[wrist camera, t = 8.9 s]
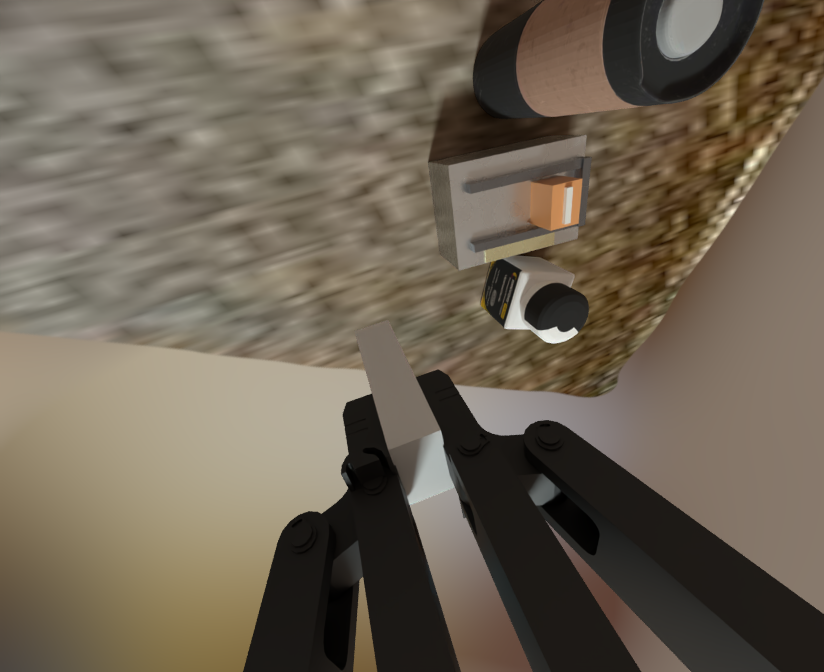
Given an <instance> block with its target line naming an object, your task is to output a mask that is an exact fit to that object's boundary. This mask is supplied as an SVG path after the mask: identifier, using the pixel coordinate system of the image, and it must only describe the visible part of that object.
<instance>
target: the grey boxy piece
mask: <svg viewBox="0 0 824 672" xmlns="http://www.w3.org/2000/svg"><path fill="white" fill-rule="evenodd" d="M586 136H587V135H562V136H546V137H541V138H536V139H532V140H527V141H523V142H518V143H514V144H509V145H504V146H500V147H495V148H491V149H486V150H482V151H477V152H472V153H468V154H463V155H459V156H454V157H450V158H445V159H440V160H436V161H431V162H428V165H429V173H430V181H431V189H432V196H433V204H434V212H435V220H436V227H437V235H438V243H439V251H440V255H441V256H442V257H443V258H445V259H446V260H447V261H448V262H449V263H451V264H452V265H453V266H454V267H455V268H457V269H458V270H462V269H466V268H470V267H474V266H477V265H481V264H485V263H489V262H492V261H496V260H500V259H503V258H507V257H511V256H515V255H518V254H522V253H526V252H530V251H533V250H537V249H541V248H544V247H548V246H552V245H556V244H559V243H563V242H567V241H571V240H574V239H577V237H578V227H579V226H583V225H585V218H586V208H587V198H588V187H589V177H590V167H591V157H585V147H586ZM558 175H559V176H567V177H574V178H582V190H581V202H580V213H579V224H575V225H571V226H567V227H563V228H559V229H556V230H552V231H550V230H547V229H544V228H541V227H539V226H536V225H533V224H530V202H531V182H533V181H537V180H541V179H545V178H549V177H554V176H558Z"/></svg>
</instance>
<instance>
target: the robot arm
mask: <svg viewBox="0 0 824 672" xmlns="http://www.w3.org/2000/svg"><path fill="white" fill-rule="evenodd" d="M355 335H356V338H357V342H358V345H359V349H360V352H361V356H362V359H363V363H364V367H365V370H366V374H367V377H368V380H369V384H370V388H371V391H372V394H370V395H367V396H364V397H361V398H358V399H355V400H352V401H350V402H347V403H346V406H345V409H344V412H343V420H344V426H345V433H346V439H347V445H348V452H349V455H348V456H347V457H346V458H345V460H344V462H343V464H342V469H341V475H342V477H343V479H344V480H345V482H346V484H347V486H348V490H347V492H346V493H345V494H344V496H343V497H342V498H341V499H340V500H339V501H338V502H337V503H336V504H334V505H333V506H332V507H330V508H329V509H328V510H326V511H325V512H323V513H322V514H320V513H319V512H312V511H311V512H310V511H308V512H306V513H303V514H300V515H298V516H297V517H295V518H294V519H293V520H291V521H290V522H289V523H288V525H287V526H286V527H285V528H284V530H283V531H282V533H281V536H280V538H279V540H278V543H277V547H276V550H275V554H274V558H273V562H272V565H271V569H270V573H269V577H268V580H267V584H266V588H265V592H264V595H263V599H262V603H261V607H260V610H259V614H258V618H257V622H256V625H255V630H254V633H253V637H252V640H251V644H250V648H249V652H248V656H247V659H246V663H245V667H244V671H243V672H353V664H354V650H355V636H356V621H357V608H358V593H359V580H360V579H361V578H362V577H363V578H364V585H365V592H366V598H367V605H368V612H369V619H370V625H371V632H372V639H373V645H374V652H375V659H376V665H377V672H461V671H460V667H459V664H458V661H457V658H456V654H455V651H454V648H453V645H452V641H451V638H450V634H449V631H448V628H447V624H446V621H445V618H444V615H443V611H442V608H441V605H440V601H439V598H438V595H437V592H436V588H435V585H434V582H433V579H432V575H431V572H430V569H429V565H428V562H427V559H426V555H425V552H424V549H423V546H422V542H421V539H420V536H419V533H418V529H417V526H416V523H415V520H414V517H413V515H412V512H411V508H410V505H412V504H415V503H417V502H419V501H422V500H424V499H427V498H429V497H432V496H434V495H437V494H439V493H442V492H444V491H447V490H449V489H452V488H454V486H455V488H456V491H457V493H458V495H459V500H460V504H461V509H462V513H463V517H464V518H467V520H468V523H469V525H470V527H471V530H472V532H473V534H474V537H475V539H476V541H477V544H478V546H479V548H480V551H481V553H482V555H483V558H484V560H485V562H486V564H487V567H488V569H489V571H490V573H491V576H492V578H493V581H494V583H495V585H496V587H497V590H498V592H499V595H500V597H501V599H502V601H503V604H504V606H505V608H506V611H507V613H508V615H509V618H510V620H511V622H512V625H513V627H514V629H515V631H516V634H517V636H518V638H519V641H520V643H521V645H522V648H523V650H524V652H525V654H526V657H527V659H528V661H529V664H530V666H531V668H532V671H533V672H641V671H640V669H639V668H638V666H637V664H636V663H635V661H634V660H633V658H632V656H631V655H630V653H629V652H628V650H627V649H626V647H625V645H624V644H623V642H622V641H621V639H620V637H619V636H618V634H617V633H616V631H615V630H614V628H613V626H612V625H611V623H610V622H609V620H608V619H607V617H606V615H605V614H604V612H603V611H602V609H601V607H600V606H599V604H598V603H597V601H596V600H595V598H594V596H593V595H592V593H591V592H590V590H589V589H588V587H587V585H586V584H585V582H584V581H583V579H582V577H581V576H580V574H579V573H578V571H577V570H576V568H575V567H574V565H573V563H572V562H571V560H570V559H569V557H568V556H567V554H566V552H565V551H564V549H563V547H562V546H561V544H560V543H559V541H558V540H557V538H556V536H555V535H554V533H553V532H552V530H551V529H550V527H549V525H548V524H547V522H548V523H549V524H550V525H551V526H552V527H553V528H554V530H555V531H556V532H557V533H558V534H559V535H560V536H561V537H562V538H563V539H564V540H565V541H566V542H567V543H568V544H569V545H570V546H571V547H572V548H573V549H574V550H575V551H576V552H577V553H578V554H579V555H580V557H581V558H582V559H583V560H584V561H585V562H586V563H587V564H588V565H589V566H590V567H591V568H592V569H593V570H594V571H595V572H596V573H597V574H598V575H599V576H600V577H601V578H602V579H603V580H604V582H605V583H606V584H607V585H608V586H609V587H610V588H611V589H612V590H613V591H614V592H615V593H616V594H617V595H618V596H619V597H620V598H621V599H622V600H623V601H624V602H625V603H626V604H627V605H628V606H629V608H631V610H632V611H633V612H634V613H635V614H636V615H637V616H638V617H639V618H640V619H641V620H642V621H643V622H644V623H645V624H646V625H647V626H648V627H649V628H650V629H651V630H652V631H653V632H654V633H655V634H656V635H657V637H658V638H660V640H661V641H662V642H663V643H664V644H665V645H666V646H667V647H668V648H669V649H670V650H671V651H672V652H673V653H674V654H675V655H676V656H677V657H678V658H679V659H680V660H681V661H682V662H683V664H685V665H686V667H687V668H688V669H689V670H690V671H691V672H824V614H822V613H821V612H820V611H819V610H817V609H816V608H815V607H813V606H812V605H810V604H809V603H808V602H806V601H805V600H803V599H802V598H801V597H799V596H798V595H797V594H795V593H794V592H792V591H791V590H790V589H788V588H787V587H786V586H784V585H783V584H782V583H780V582H779V581H777V580H776V579H775V578H773V577H772V576H771V575H769V574H768V573H766V572H765V571H764V570H762V569H761V568H760V567H758V566H757V565H756V564H754V563H753V562H751V561H750V560H749V559H747V558H746V557H745V556H743V555H742V554H740V553H739V552H738V551H736V550H735V549H733V548H732V547H731V546H729V545H728V544H727V543H725V542H724V541H723V540H721V539H719V538H718V537H717V536H716V535H714V534H713V533H711V532H710V531H709V530H707V529H706V528H705V527H703V526H702V525H700V524H699V523H698V522H696V521H695V520H694V519H692V518H691V517H690V516H688V515H687V514H685V513H684V512H683V511H681V510H680V509H679V508H677V507H676V506H674V505H673V504H672V503H670V502H669V501H668V500H666V499H665V498H663V497H662V496H661V495H659V494H658V493H657V492H655V491H654V490H652V489H651V488H649V487H648V486H647V485H646V484H644V483H643V482H641V481H640V480H639V479H637V478H636V477H635V476H633V475H632V474H630V473H629V472H628V471H626V470H625V469H624V468H622V467H621V466H619V465H618V464H617V463H615V462H614V461H613V460H611V459H610V458H608V457H607V456H606V455H604V454H603V453H601V452H600V451H599V450H597V449H596V448H595V447H593V446H592V445H591V444H589V443H588V442H587V441H585V440H584V439H582V438H581V437H579V436H578V435H577V434H576V433H574V432H573V431H571V430H570V429H569V428H567V427H566V426H563V425H562V424H560V423H558V422H554V421H549V420H544V421H537V422H535V423H533V424H530V425H529V427H528V428H527V429H526V430H525V433H524V434H523V435H509V436H500V435H495V434H492V433H489V432H487V431H485V430H484V429H483V428H482V427H481V426H480V425H479V424H478V423H477V421H476V419H475V418H474V416H473V414H472V413H471V411H470V410H469V408H468V406H467V405H466V403H465V402H464V400H463V398H462V397H461V395H460V394H459V392H458V390H457V389H456V387H455V386H454V384H453V382H452V381H451V379H450V377H449V376H448V375H446V374H445V373H443V372H442V371H440V370H435V371H432V372H429V373H427V374H424V375H421V376H418V377H415V375H414V373H413V371H412V369H411V367H410V365H409V363H408V361H407V359H406V356H405V354H404V352H403V350H402V348H401V346H400V344H399V342H398V340H397V338H396V336H395V333H394V331H393V329H392V327H391V325H390V323H389V321H388V320H386V321H383V322H380V323H377V324H374V325H371V326H368V327H365V328H362V329H359V330H356V331H355ZM453 484H454V485H453ZM545 520H546V521H547V522H546V521H545Z"/></svg>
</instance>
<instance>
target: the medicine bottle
mask: <svg viewBox="0 0 824 672" xmlns="http://www.w3.org/2000/svg"><path fill="white" fill-rule="evenodd" d="M574 277H575V275H574V274H573V273H571V272H569V271H567V270H565V269H563V268H561V267H559V266H557V265H555V264H553V263H551V262H549V261H546V260H544V259H542V258H540V257H530V256H518V255H515V256H511V257H507V258H503V259H500V260H496V261H492V262H491V264H490V268H489V272H488V276H487V280H486V284H485V288H484V292H483V296H482V300H481V306H482V307H483V308H484V309H485V310H486V311H487V312H488V313H489V314H490V315H491V316H492V317H493V318H495V319H496V320H497V321H498V322H499V323H500V324H501V325H502V326H503V327H504V328H505V329H530V330H532V331H533V332H534V333H535V334H536V335H538V336H539V337H540V338H541V339H542V340H544V341H545V342H548V343H560V342H564V341H566V340H568V339H570V338H572V337H573V336H575V335H576V334H577V333H578V332H579V331H580V330H581V328H582V327H583V326H584V324H585V322H586V320H587V317H588V312H589V306H588V301H587V299H586V297H585V296H584V295H583V294H581V293H579V292H578V291H576V290H574V289H572V288H571V285H572V282H573V280H574Z"/></svg>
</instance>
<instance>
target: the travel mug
mask: <svg viewBox="0 0 824 672" xmlns="http://www.w3.org/2000/svg"><path fill="white" fill-rule="evenodd" d="M763 3H764V0H543V1H541V2H540V3H538V4H537V5H535V6H534V7H532V8H531V9H529V10H528V11H526V12H525V13H523V14H522V15H520V16H519V17H518V18H516V19H515V20H513V21H512V22H510V23H509V24H507V25H506V26H504V27H503V28H501V29H500V30H498V31H497V32H496V33H494V34H493V35H492V36H491V37H490V38H489V39H488V40H487V41H486V42H485V43H484V45H483V46H482V48H481V50H480V51H479V54H478V56H477V59H476V62H475V66H474V72H473V86H474V92H475V95H476V98H477V100H478V102H479V104H480V106H481V107H482V108H483V109H484V110H485V111H486V112H487V113H488V114H489V115H491V116H493V117H496V118H502V119H511V118H536V117H557V116H565V115H574V114H582V113H591V112H599V111H608V110H616V109H625V108H633V107H642V106H650V105H659V104H670V103H677V102H682V101H685V100H688V99H691V98H693V97H696V96H698V95H699V94H701V93H703V92H705V91H706V90H707V89H709V88H710V87H711V86H713V85H714V84H715V83H716V82H717V81H718V80H720V79H721V78H722V76H723V75H724V74H725V73H726V72H727V71H728V70H729V69H730V67H731V66H732V65H733V64H734V62H735V61H736V59H737V58H738V57H739V55H740V54H741V52H742V50H743V49H744V47H745V45H746V44H747V42H748V40H749V38H750V36H751V34H752V32H753V30H754V28H755V25H756V23H757V20H758V18H759V15H760V12H761V9H762V6H763Z"/></svg>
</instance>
